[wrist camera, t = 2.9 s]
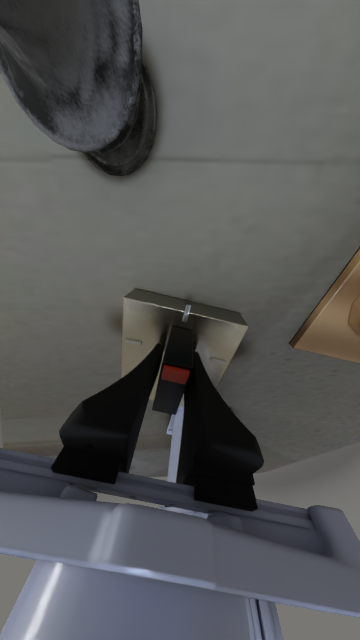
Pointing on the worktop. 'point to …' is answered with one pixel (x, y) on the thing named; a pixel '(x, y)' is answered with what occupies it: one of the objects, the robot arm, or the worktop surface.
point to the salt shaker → (81, 76)
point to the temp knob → (174, 371)
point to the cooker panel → (164, 312)
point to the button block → (335, 319)
